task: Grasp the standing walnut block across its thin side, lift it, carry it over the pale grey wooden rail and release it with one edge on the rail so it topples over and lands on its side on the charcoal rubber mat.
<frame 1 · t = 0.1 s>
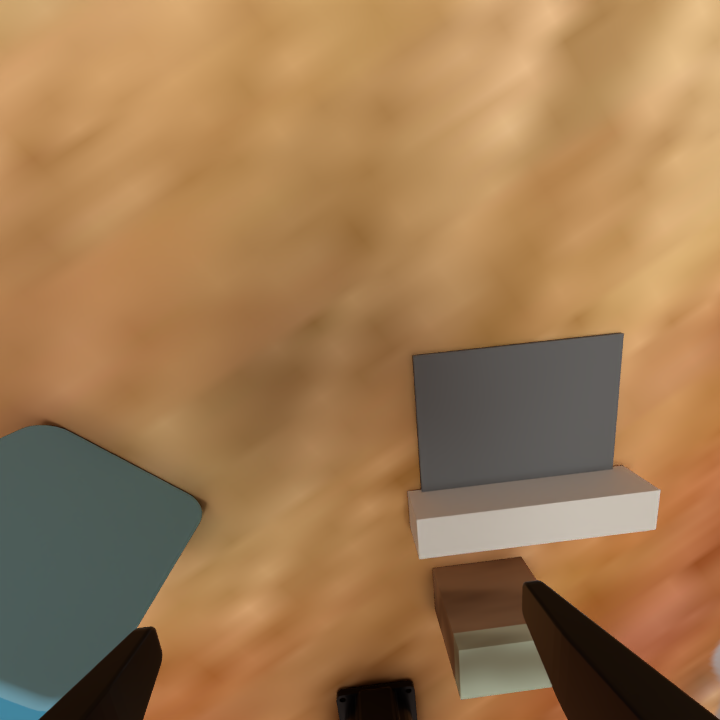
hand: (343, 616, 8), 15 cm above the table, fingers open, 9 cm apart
block: (477, 582, 26), on the table
mat: (516, 414, 23), on the table
rail: (515, 496, 25), on the table
data package: (118, 485, 23), on the table
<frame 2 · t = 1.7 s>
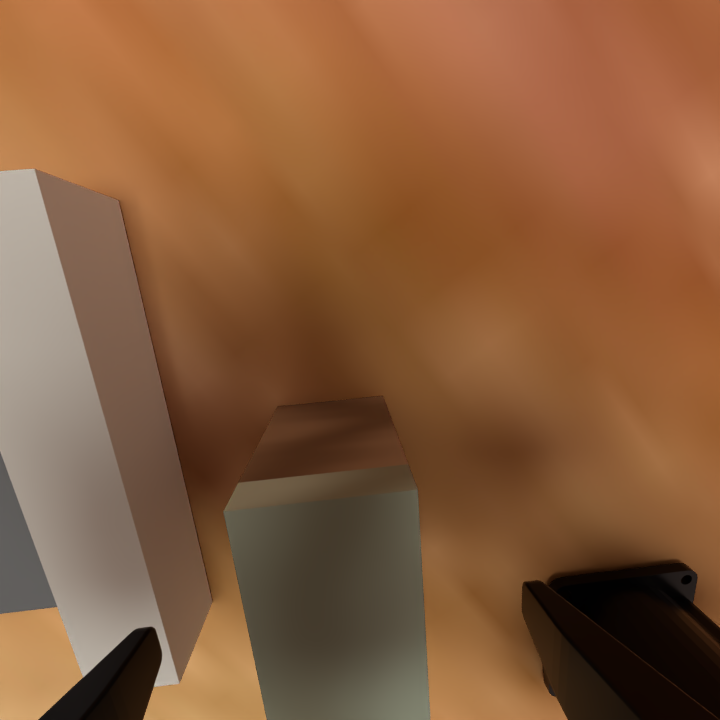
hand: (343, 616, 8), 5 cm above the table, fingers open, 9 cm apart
block: (339, 481, 13), on the table
rail: (131, 434, 12), on the table
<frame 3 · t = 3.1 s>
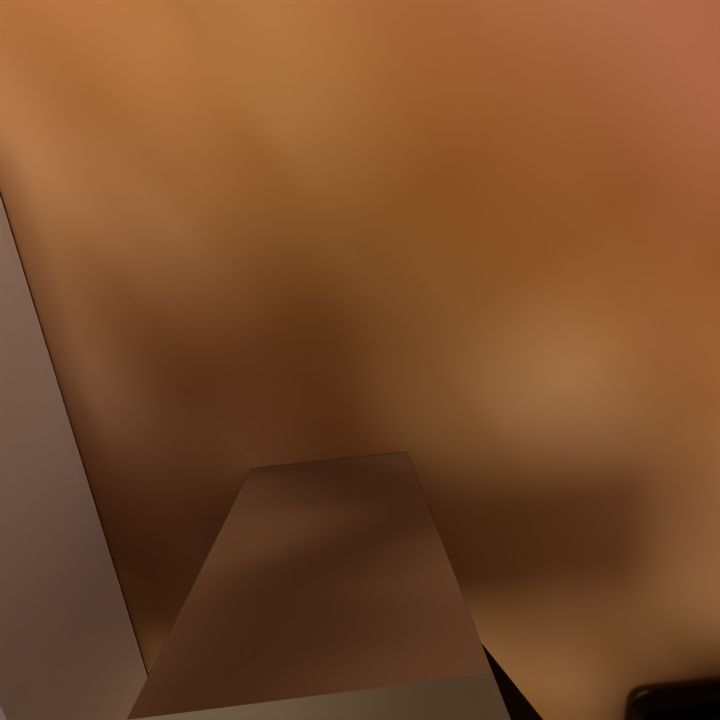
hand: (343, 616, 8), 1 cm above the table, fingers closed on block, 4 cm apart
block: (343, 573, 9), on the table, touching gripper
rail: (33, 510, 8), on the table
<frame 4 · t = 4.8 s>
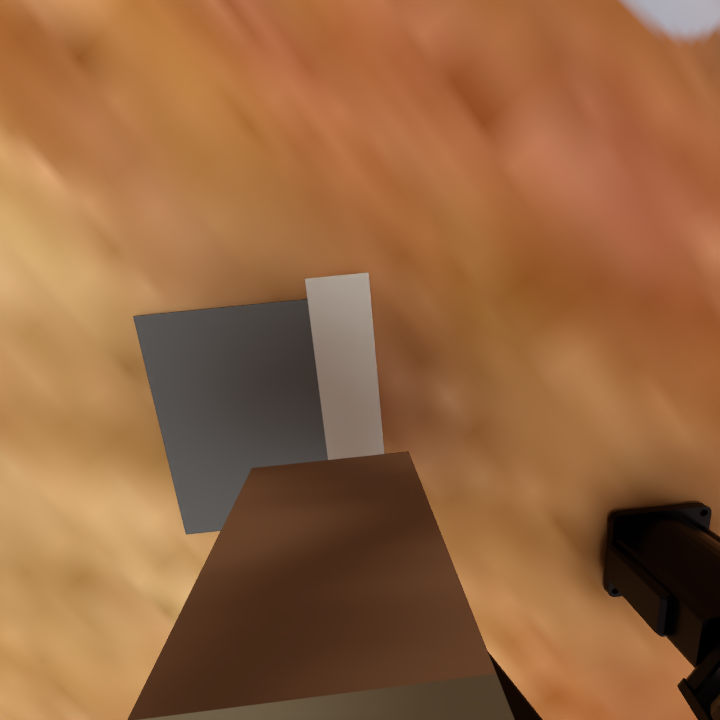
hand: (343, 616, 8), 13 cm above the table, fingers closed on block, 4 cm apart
block: (344, 573, 9), point 11 cm above the table, touching gripper
mat: (246, 423, 20), on the table
rail: (353, 412, 20), on the table
when the fingers open (5 cm above the table, at t = 6.7 s): block drops 2 cm, resting on rail.
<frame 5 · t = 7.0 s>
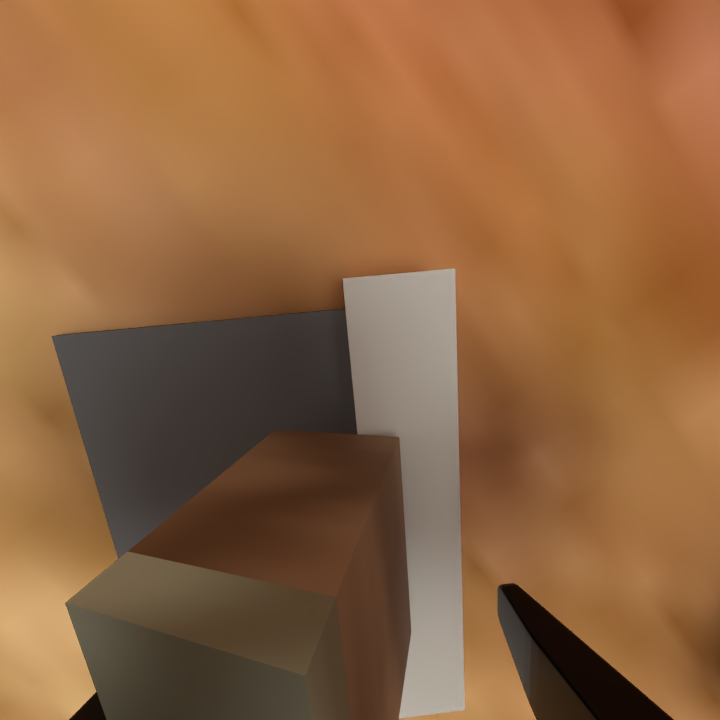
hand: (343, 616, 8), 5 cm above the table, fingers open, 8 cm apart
block: (344, 532, 11), point 3 cm above the table, tilted 20°, touching gripper, rail
mat: (237, 495, 13), on the table
rail: (398, 478, 13), on the table
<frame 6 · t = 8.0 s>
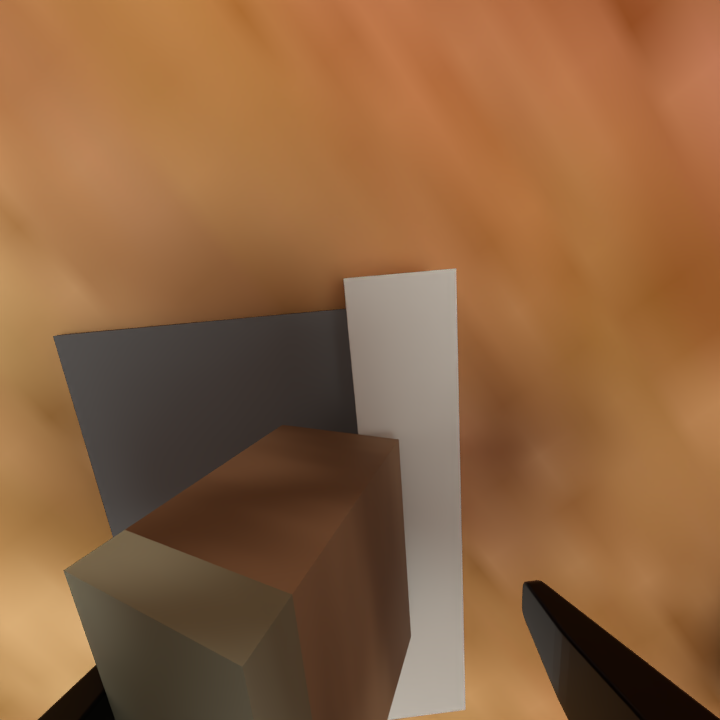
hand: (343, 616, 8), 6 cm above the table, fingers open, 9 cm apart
block: (346, 530, 11), point 3 cm above the table, tilted 27°, touching gripper, rail
mat: (238, 495, 13), on the table
rail: (399, 478, 14), on the table
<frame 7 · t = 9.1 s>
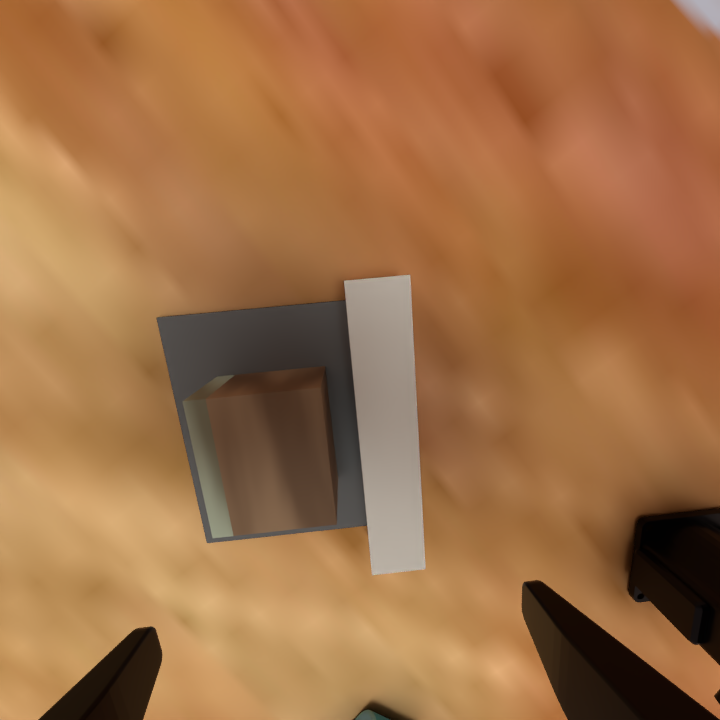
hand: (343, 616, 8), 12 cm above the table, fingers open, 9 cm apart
block: (330, 439, 17), point 2 cm above the table, tilted 90°, touching mat
mat: (272, 428, 19), on the table
rail: (382, 417, 20), on the table
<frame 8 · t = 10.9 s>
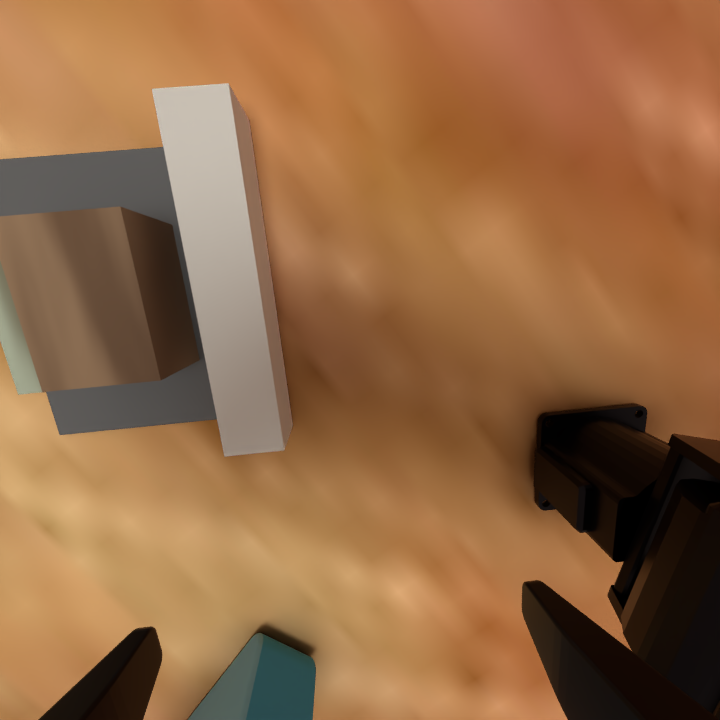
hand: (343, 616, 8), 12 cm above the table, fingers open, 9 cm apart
block: (166, 296, 16), point 2 cm above the table, tilted 90°, touching mat
mat: (122, 301, 18), on the table
rail: (245, 290, 18), on the table
data package: (247, 686, 24), on the table
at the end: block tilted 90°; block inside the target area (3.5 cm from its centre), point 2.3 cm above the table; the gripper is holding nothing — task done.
